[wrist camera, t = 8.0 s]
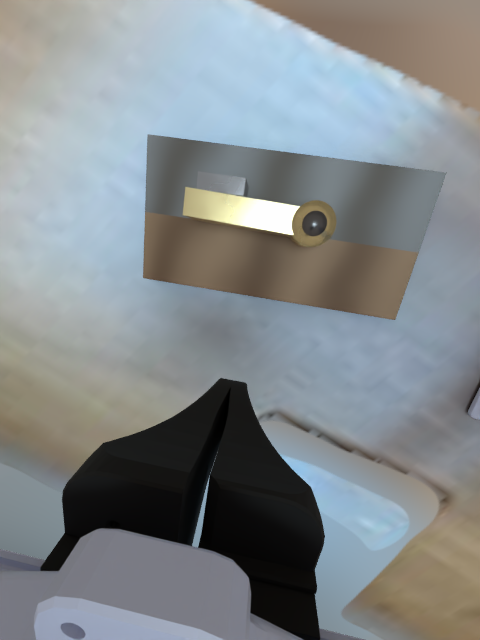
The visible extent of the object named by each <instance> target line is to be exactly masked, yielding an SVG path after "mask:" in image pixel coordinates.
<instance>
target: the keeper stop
mask: <svg viewBox="0 0 480 640" xmlns="http://www.w3.org/2000/svg"><path fill="white" fill-rule="evenodd" d="M196 189H201V190H207V191H213V192H218V193H224V194H230V195H236V196H241V197H247V196H248V189H249V186H248V183H247V180H246V178H243V177H236V176H228V175H221V174H214V173H206V172H199V171H198V177H197V188H196Z"/></svg>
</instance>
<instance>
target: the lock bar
mask: <svg viewBox="0 0 480 640" xmlns="http://www.w3.org/2000/svg"><path fill="white" fill-rule="evenodd" d="M183 215H184V216H186V217H189V218H191V219H194V220H198V221H203V222H209V223H214V224H220V225H225V226H231V227H236V228H242V229H247V230H253V231H259V232H264V233H270V234H275V235H281V236H286V237H290V239H291V240H292V241H293V242H294V243H295V244H296V245H298V246H301V247H316V246H320V245H322V244H324V243H325V242H327V241H328V240H329V239H330V238H331V237H332V235H333V233H334V231H335V228H336V223H337V220H336V215H335V212H334V210H333V208H332V207H331V206H330V205H329V204H327V203H326V202H323V201H320V200H312V201H309V202H306V203H304V204H303V205H301V206H300V207H299V206H293V205H288V204H282V203H276V202H270V201H265V200H259V199H253V198H247V197H241V196H236V195H230V194H224V193H218V192H213V191H207V190H201V189H195V188H189V187H185V196H184V207H183Z"/></svg>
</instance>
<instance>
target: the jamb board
mask: <svg viewBox="0 0 480 640" xmlns="http://www.w3.org/2000/svg"><path fill="white" fill-rule="evenodd" d="M198 171H199V172H206V173H214V174H221V175H228V176H236V177H243V178H246V180H247V183H248V186H249V189H248V196H247V198H253V199H259V200H265V201H270V202H276V203H282V204H288V205H293V206H299V207H300V206H301V205H303V204H304V203H306V202H309V201H312V200H320V201H323V202H326V203H327V204H329V205H330V206H331V207H332V208H333V210H334V212H335V215H336V220H337V223H336V228H335V231H334V233H333V235H332V237H331V238H330V239H329V240H328V241H327V242H325V243H324V244H322V245H320V246H316V247H301V246H298V245H296V244H295V243H294V242H293V241H292V240H291V239H290V237H286V236H281V235H275V234H270V233H264V232H259V231H253V230H247V229H242V228H236V227H231V226H225V225H220V224H214V223H209V222H203V221H198V220H194V219H191V218H189V217H186V216H184V215H183V207H184V196H185V187H189V188H195V189H196V188H197V177H198ZM445 175H446V173H444V172H437V171H429V170H421V169H413V168H405V167H398V166H390V165H382V164H374V163H366V162H359V161H351V160H343V159H335V158H328V157H320V156H312V155H304V154H296V153H289V152H281V151H273V150H265V149H257V148H250V147H242V146H234V145H226V144H218V143H211V142H203V141H195V140H187V139H179V138H172V137H164V136H156V135H148V139H147V171H146V203H145V235H144V267H143V278H147V279H153V280H159V281H165V282H171V283H177V284H183V285H189V286H195V287H201V288H207V289H213V290H219V291H225V292H231V293H237V294H243V295H248V296H254V297H260V298H266V299H272V300H278V301H284V302H290V303H296V304H302V305H308V306H314V307H320V308H326V309H332V310H338V311H344V312H350V313H356V314H362V315H368V316H374V317H380V318H386V319H392V320H395V319H396V316H397V313H398V310H399V307H400V304H401V302H402V299H403V296H404V293H405V290H406V287H407V284H408V282H409V279H410V276H411V273H412V270H413V267H414V264H415V261H416V259H417V256H418V253H419V250H420V247H421V244H422V241H423V238H424V236H425V233H426V230H427V227H428V224H429V221H430V218H431V215H432V213H433V210H434V207H435V204H436V201H437V198H438V195H439V192H440V190H441V187H442V184H443V181H444V178H445Z"/></svg>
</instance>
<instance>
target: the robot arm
mask: <svg viewBox="0 0 480 640" xmlns="http://www.w3.org/2000/svg"><path fill="white" fill-rule="evenodd" d="M468 414H469V415H470V416H471V417H472V418H474V419H479V420H480V388H479V390H478V392H477V394H476V396H475V398H474V400H473V402H472V404H471V406H470V408H469V410H468ZM217 452H218V453H217ZM216 455H217V456H216ZM215 458H216V459H215ZM214 461H215V462H214ZM213 463H214V465H213ZM212 466H213V468H212ZM211 469H212V471H211ZM210 472H211V473H210ZM209 475H210V479H209V486H208V493H207V500H206V506H205V513H204V520H203V527H202V534H201V538H200V542H199V546H198V548H197V547H193V546H192V543H193V539H194V534H195V530H196V526H197V522H198V517H199V513H200V509H201V505H202V501H203V497H204V493H205V489H206V485H207V482H208V478H209ZM62 503H63V514H64V525H65V534H64V535H63V536H62V538H61V539H60V541H59V542H58V543H57V545H56V546H55V548H54V549H53V551H52V552H51V553H50V555H49V556H48V557H47V559H46V560H42V559H38V558H34V557H31V556H27V555H23V554H19V553H15V552H11V551H7V550H2V549H0V640H364V639H359V638H356V637H352V636H348V635H344V634H340V633H335V632H332V631H328V630H324V629H320V628H319V625H318V616H317V609H316V602H315V594H316V591H317V584H316V576H315V567H316V565H317V562H318V559H319V556H320V553H321V551H322V548H323V544H324V538H325V535H324V529H323V524H322V519H321V516H320V512H319V509H318V506H317V503H316V500H315V497H314V494H313V491H312V489H311V487H310V486H309V485H308V484H307V483H306V482H305V481H304V480H303V479H302V478H301V477H300V476H298V475H297V474H296V473H295V472H294V471H293V470H292V469H291V468H290V466H289V465H288V464H287V463H286V462H285V461H284V460H283V459H282V457H281V456H280V455H279V453H278V452H277V451H276V450H275V448H274V447H273V446H272V444H271V443H270V441H269V440H268V438H267V436H266V435H265V433H264V431H263V429H262V428H261V426H260V424H259V422H258V419H257V417H256V415H255V413H254V410H253V407H252V405H251V402H250V399H249V395H248V390H247V384H246V383H244V382H239V381H233V380H228V379H223V378H221V379H219V380H218V381H217V382H216V383H215V384H214V385H213V386H212V387H211V388H210V389H209V390H208V391H207V392H206V393H205V394H204V395H203V396H201V397H200V398H199V399H198V400H197V401H195V402H194V403H193V404H191V405H190V406H189V407H187V408H186V409H184V410H183V411H181V412H180V413H178V414H177V415H175V416H173V417H172V418H170V419H168V420H166V421H164V422H162V423H160V424H158V425H156V426H153V427H151V428H149V429H146V430H144V431H141V432H138V433H135V434H133V435H130V436H126V437H123V438H119V439H116V440H113V441H109V442H105V443H103V444H102V445H101V446H100V447H99V448H98V449H97V450H96V451H95V452H94V453H93V454H92V455H91V456H90V457H89V458H88V459H87V460H86V461H85V462H84V464H83V465H82V466H81V467H80V468H79V469H78V471H77V472H76V473H75V474H74V475H73V476H72V478H71V479H70V480H69V481H68V482H67V484H66V486H65V488H64V490H63V497H62Z"/></svg>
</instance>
